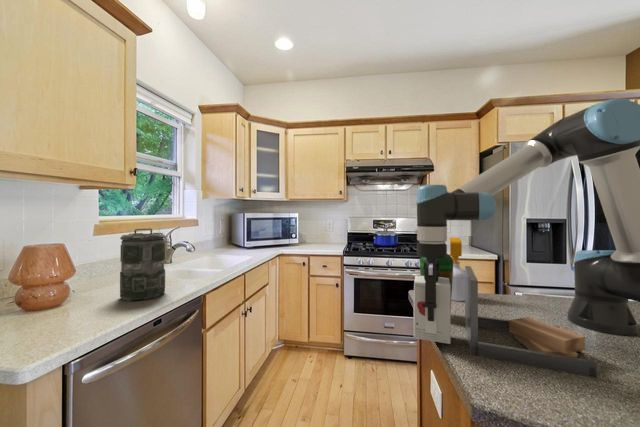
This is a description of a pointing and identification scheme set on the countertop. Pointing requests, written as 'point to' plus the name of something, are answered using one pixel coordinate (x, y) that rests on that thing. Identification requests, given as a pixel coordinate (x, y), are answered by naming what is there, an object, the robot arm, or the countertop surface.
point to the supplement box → (442, 310)
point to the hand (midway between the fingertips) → (431, 325)
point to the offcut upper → (547, 335)
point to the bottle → (441, 268)
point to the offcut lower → (541, 347)
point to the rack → (510, 353)
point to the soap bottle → (457, 271)
